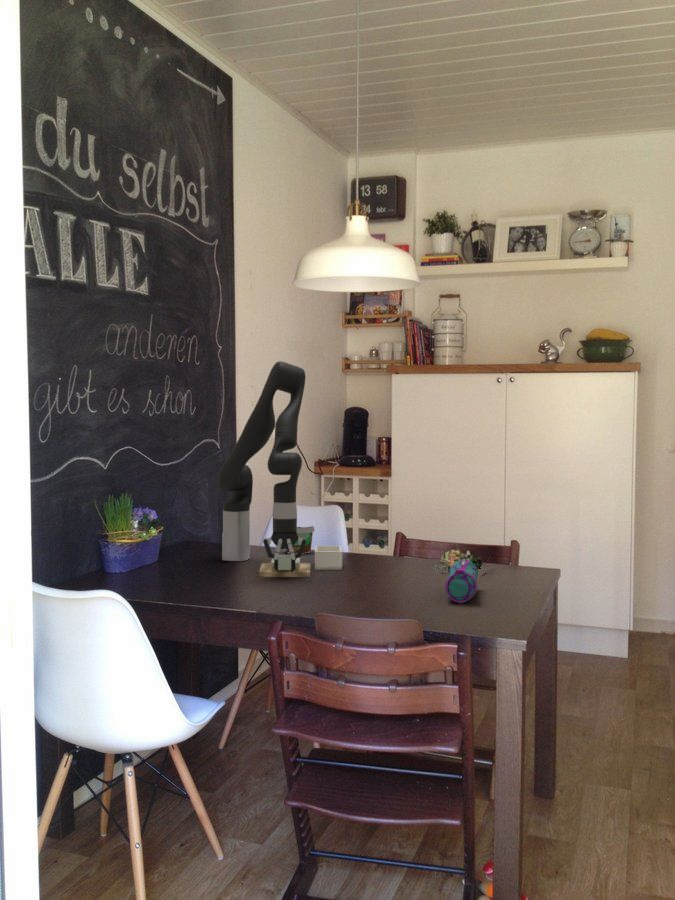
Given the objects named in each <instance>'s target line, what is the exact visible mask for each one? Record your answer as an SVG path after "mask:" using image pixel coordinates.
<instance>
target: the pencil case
mask: <svg viewBox="0 0 675 900" xmlns="http://www.w3.org/2000/svg"><path fill="white" fill-rule="evenodd" d="M447 568H448V573H449V574H448V578H447V580H446V582H445V593H446V595H447V597H448V598H449V599H450V600H451V601H453V602H454V603H457V604H464V603H466V602H468V601H470V600H471V599H473V598H474V596H475V595H476V593H477V590H478V583H477V580H478V578H477V576H478V570H477V567H476V566H475V564H473V563H472V562H471V561H469V560H465V558H464V559H463V560H459V561H457V562H455V563H454V564H453V565H452V566H451V567H449V566H447Z"/></svg>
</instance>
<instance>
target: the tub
mask: <svg viewBox="0 0 675 900" xmlns="http://www.w3.org/2000/svg"><path fill="white" fill-rule="evenodd" d="M342 548H343V547H342V545H314V570H315V571H320V570H321V571H323V570H324V571H326V570H327V571H329V570H330V571H342V570H343V549H342Z"/></svg>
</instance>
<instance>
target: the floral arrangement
mask: <svg viewBox="0 0 675 900" xmlns="http://www.w3.org/2000/svg"><path fill="white" fill-rule="evenodd" d="M462 551H463V550H461V549H460V548H459V543H458V542H457V543H456V550H454V549H452V550H448V551H446V547H444V548H443V552H442V553H443V554H442V555H441V559H440V562H441V561H443V562H445V563H449V564H448V565H450V566H452V565H453V564H454V563H455V562H457V561H459V560H463V559H464V558H465V560H469V561H471V562H472V563H473V564H475V566H476V567H477V569H478V570H479V569H481V568H480V567H481V566H482V565H484V561H483V559H482V558H481V556H479V557H478V556H477V555H473V554H471V553H470V551H469V550H467V551H466V554H465V553H462ZM437 564H440V563H437V562H436V563H435V565H436V566H437ZM441 564H442V565H444V564H443V563H441ZM441 564H440V565H441ZM436 566H432V568H435V569H437V570H438V569H443V570H444V569H445V570H446V568H448V566H446V565H444V566H442V567H443V568H442V567H439V568H438V567H436Z"/></svg>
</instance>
